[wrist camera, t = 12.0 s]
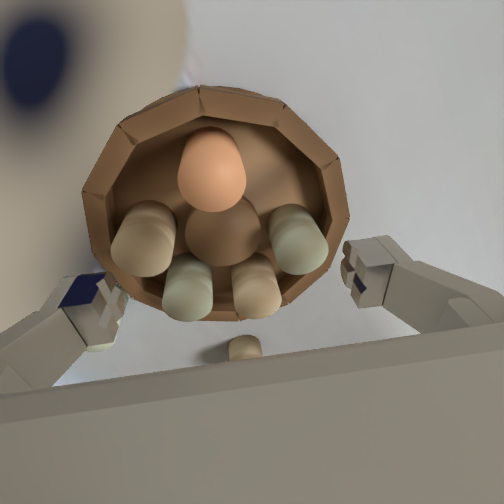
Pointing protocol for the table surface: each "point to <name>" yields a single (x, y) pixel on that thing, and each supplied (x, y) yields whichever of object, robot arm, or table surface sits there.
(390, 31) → the table surface
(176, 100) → the groove tray
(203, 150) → the orange egg
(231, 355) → the tan egg
